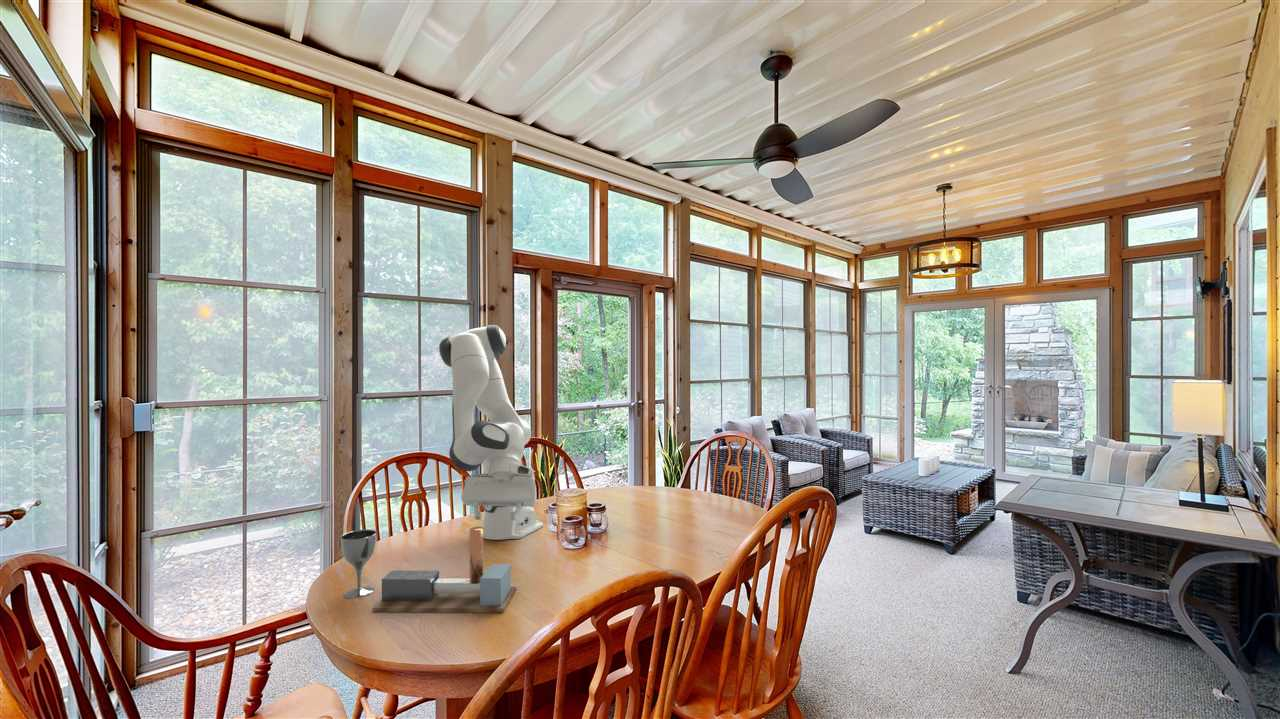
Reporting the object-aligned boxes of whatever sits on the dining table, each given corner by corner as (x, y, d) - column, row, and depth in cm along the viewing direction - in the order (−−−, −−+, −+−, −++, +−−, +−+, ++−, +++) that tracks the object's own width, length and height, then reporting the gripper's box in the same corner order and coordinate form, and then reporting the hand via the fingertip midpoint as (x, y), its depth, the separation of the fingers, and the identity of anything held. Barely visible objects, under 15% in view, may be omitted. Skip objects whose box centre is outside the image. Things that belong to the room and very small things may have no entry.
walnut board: (372, 611, 125) (372, 607, 125) (396, 589, 137) (396, 586, 137) (503, 612, 125) (503, 608, 125) (516, 590, 137) (516, 586, 137)
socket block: (480, 605, 126) (480, 578, 126) (491, 589, 135) (491, 563, 135) (500, 605, 126) (500, 578, 126) (510, 589, 135) (510, 563, 135)
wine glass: (334, 599, 132) (334, 539, 132) (352, 585, 140) (352, 529, 140) (366, 599, 132) (366, 539, 132) (381, 585, 140) (381, 529, 140)
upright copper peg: (419, 593, 130) (419, 530, 130) (425, 588, 133) (425, 526, 133) (492, 594, 129) (492, 530, 129) (496, 588, 133) (496, 526, 133)
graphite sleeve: (381, 601, 129) (381, 579, 129) (392, 591, 134) (392, 570, 134) (430, 601, 128) (430, 579, 128) (439, 591, 134) (439, 570, 134)
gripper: (465, 467, 148) (453, 512, 138) (538, 469, 149) (531, 514, 139) (469, 479, 153) (458, 524, 143) (540, 481, 154) (533, 525, 144)
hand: (495, 519), depth 141 cm, fingers open, 8 cm apart
